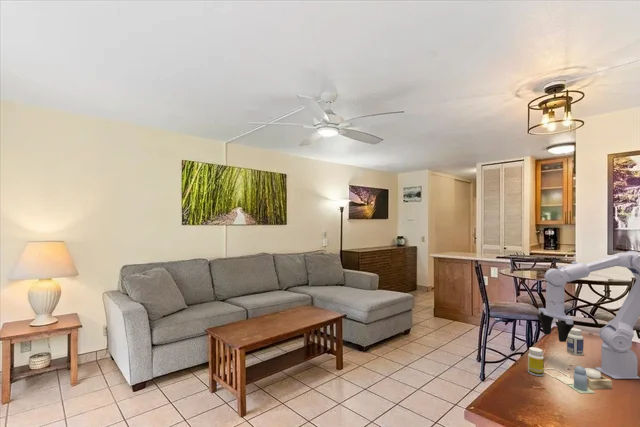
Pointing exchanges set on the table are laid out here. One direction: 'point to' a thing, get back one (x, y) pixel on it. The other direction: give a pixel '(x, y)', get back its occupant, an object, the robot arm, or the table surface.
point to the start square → (555, 369)
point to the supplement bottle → (535, 361)
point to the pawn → (580, 378)
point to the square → (565, 380)
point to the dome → (593, 373)
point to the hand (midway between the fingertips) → (554, 337)
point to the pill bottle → (575, 342)
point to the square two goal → (581, 390)
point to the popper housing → (598, 383)
